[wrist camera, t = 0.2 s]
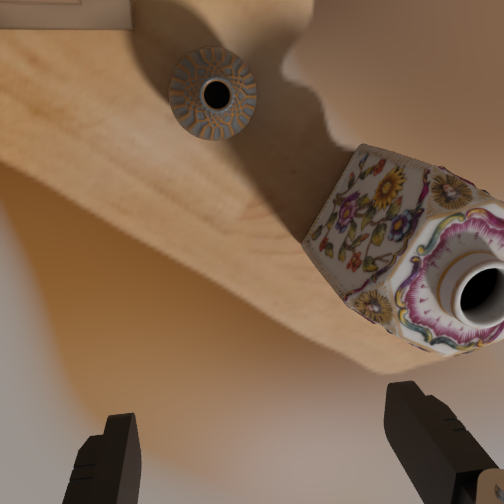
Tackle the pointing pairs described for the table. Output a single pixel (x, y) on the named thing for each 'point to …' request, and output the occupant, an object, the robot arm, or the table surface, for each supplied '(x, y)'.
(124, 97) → the table surface
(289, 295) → the table surface
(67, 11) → the display stand
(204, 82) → the vase
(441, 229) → the decorative jar
